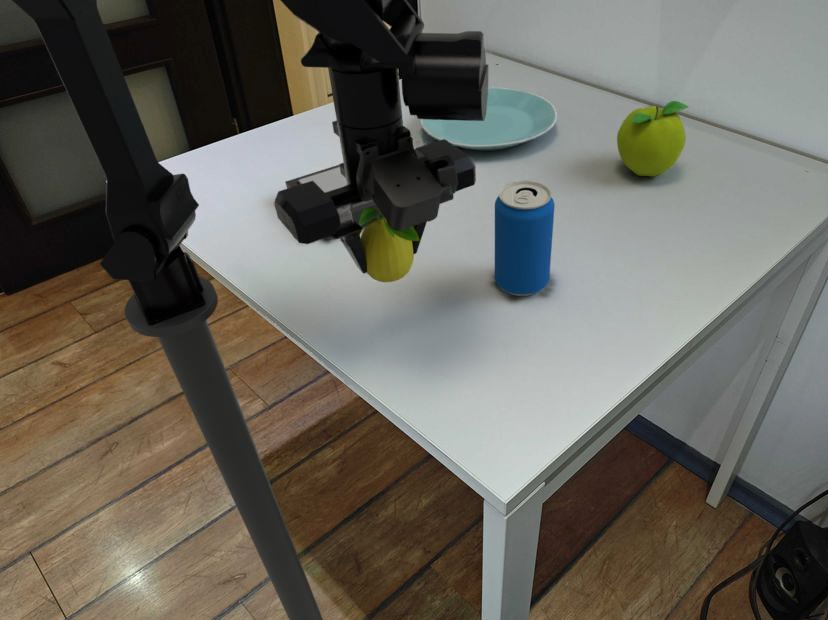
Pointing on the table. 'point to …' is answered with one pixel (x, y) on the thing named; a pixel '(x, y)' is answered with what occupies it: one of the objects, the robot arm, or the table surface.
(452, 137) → the plate
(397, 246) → the lemon
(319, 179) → the scale pan
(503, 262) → the beverage can
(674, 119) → the fruit
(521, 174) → the table surface
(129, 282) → the robot arm
